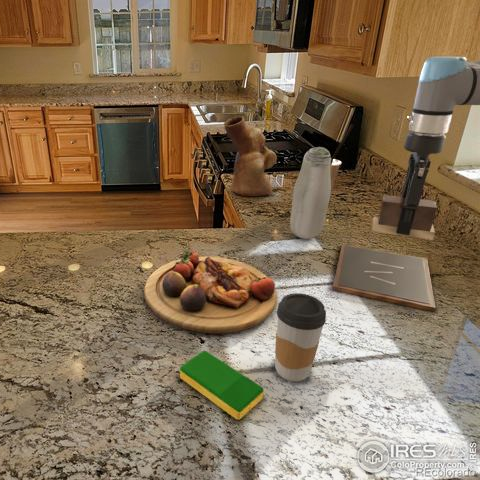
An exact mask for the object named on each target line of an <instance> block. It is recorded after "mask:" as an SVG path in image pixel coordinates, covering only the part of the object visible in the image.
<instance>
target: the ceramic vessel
mask: <svg viewBox="0 0 480 480" xmlns="http://www.w3.org/2000/svg"><path fill="white" fill-rule="evenodd" d="M223 128H224V131H225V133H226V135H227V136H228V138H229V139H230V141H231V143H232V144H234V147H236V149H237V153H236V155H235V161H234V163H233V176H232V181H231V183H230V189H231V190H232V191H233V193H235V194H237V195H240V196H246V197H261V196H269V195H272V194H273V193H274V191H273V185H272V183H271V181H270V180H269V178H268V177H267V176H266V174H265V171H266V170H268V169H271V168H272V167H274V165H275V164H276V163H277V160H278V158H277V157H278V156H277V154H276V153H275V152H274V150H272V149H269V148H268V147H267V146H266V145H265V143H266V140H267V138H266V137H265V135H264V133H262V131H261V128H260V124H259V123H256V124H255V126H248V125H247V123H246V120H245V117H243V116H234V117H231V118H229V119H227V120H225V122H224V123H223Z"/></svg>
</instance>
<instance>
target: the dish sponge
mask: <svg viewBox="0 0 480 480" xmlns="http://www.w3.org/2000/svg"><path fill="white" fill-rule="evenodd" d="M179 378H180V379H181V380H182V381H184V382H185V383H187V384H188V385H189V386H191V387H192V388H193V389H194V390H196V391H197V392H198V393H200V394H201V395H203V396H204V397H205V398H207V399H208V400H210V401H211V402H212V403H214V404H215V405H216V406H217V407H219V408H220V409H222V410H223V411H224V412H225V413H227V414H228V415H230V416H231V417H233V418H234V419H235V420H237V421H238V420H241V419H242V418H243V417H244V416H245V415H247V414H248V413H249V412H250V411H251V410H252V409H253V408H254V407H256V406H257V405H258V404H259V403H260V402H261V401H262V400H263V396H264V387H263V386H262V385H260V384H258V383H257V382H254V381H253V380H252V379H250V378H249V377H247V376H246V375H244V374H243V373H241V372H240V371H238V370H236V369H235V368H233V367H231V366H230V365H229V364H227V363H225V362H224V361H222V360H221V359H220V358H218V357H216V356H215V355H213V354H211V353H210V352H208V351H207V350H203V351H201V352H200V353H198V354H197V355H195V356H194V357H192V358H190V359H189V360H188V361H187V362H185V363H184V364H183V365H181V366H179Z"/></svg>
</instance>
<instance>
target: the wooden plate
mask: <svg viewBox="0 0 480 480" xmlns="http://www.w3.org/2000/svg"><path fill="white" fill-rule="evenodd" d="M183 252H184V254H182V255H181V256H179V257H178V259H176V260H173V261H169V262H167V263H165V264H163V265H162V266H160V267H158V268H157V269H156V270H154V271H153V272H152V273H151V274H150V275H149V277H147V279H146V281H145V284H144V287H143V296H144V300H145V303H146V304H147V307H149V309H150V310H151V311H152V312H153V313H154V314H155V315H156V316H157V317H158V318H160V319H161V320H163V321H164V322H167V323H169V324H170V325H172V326H175V327H178V328H180V329H184V330H187V331H191V332H197V333H201V334H228V333H234V332H235V333H236V332H240V331H244V330H247V329H250V328H252V327H255V326H257V325H259V324H261V323H262V322H264V321H265V320H266V319H267V318H269V317H270V316H271V315H272V313H273V312H274V311H275V308H276V306H277V302H278V293H277V290H276V283H275V282H274V280H273V279H272V278H271V276H267V275H266V274H265V273H263V272H262V271H260V270H259V269H257V268H255V267H254V266H251V265H249V264H247V263H245V262H241V261H239V260H235V259H231V258H227V257H220V256H199V254H198V253H197V252H196V251H195V250H193V249H191V250H184V251H183Z"/></svg>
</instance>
